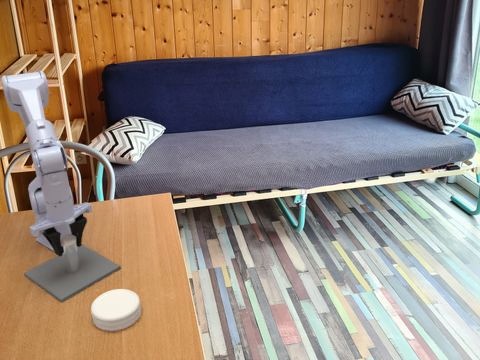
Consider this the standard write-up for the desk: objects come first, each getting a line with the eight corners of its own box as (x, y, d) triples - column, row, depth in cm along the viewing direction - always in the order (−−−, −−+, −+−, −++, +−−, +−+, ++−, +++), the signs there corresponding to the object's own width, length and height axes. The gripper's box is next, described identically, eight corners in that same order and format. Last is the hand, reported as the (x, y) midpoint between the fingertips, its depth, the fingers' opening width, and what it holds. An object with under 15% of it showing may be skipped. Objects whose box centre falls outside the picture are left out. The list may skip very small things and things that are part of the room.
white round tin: (121, 294, 113) (119, 282, 111) (151, 313, 107) (149, 299, 105) (83, 318, 106) (80, 305, 104) (112, 339, 100) (110, 325, 98)
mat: (24, 275, 120) (23, 272, 120) (82, 246, 131) (81, 244, 131) (61, 302, 111) (61, 299, 110) (120, 268, 121) (120, 266, 121)
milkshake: (82, 274, 118) (74, 238, 114) (59, 274, 119) (51, 238, 114) (88, 263, 122) (81, 228, 118) (67, 263, 123) (58, 228, 118)
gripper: (37, 216, 105) (49, 270, 111) (95, 191, 115) (104, 242, 121) (20, 206, 109) (32, 259, 115) (78, 183, 119) (87, 232, 125)
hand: (68, 249), depth 118 cm, fingers closed on milkshake, 4 cm apart
